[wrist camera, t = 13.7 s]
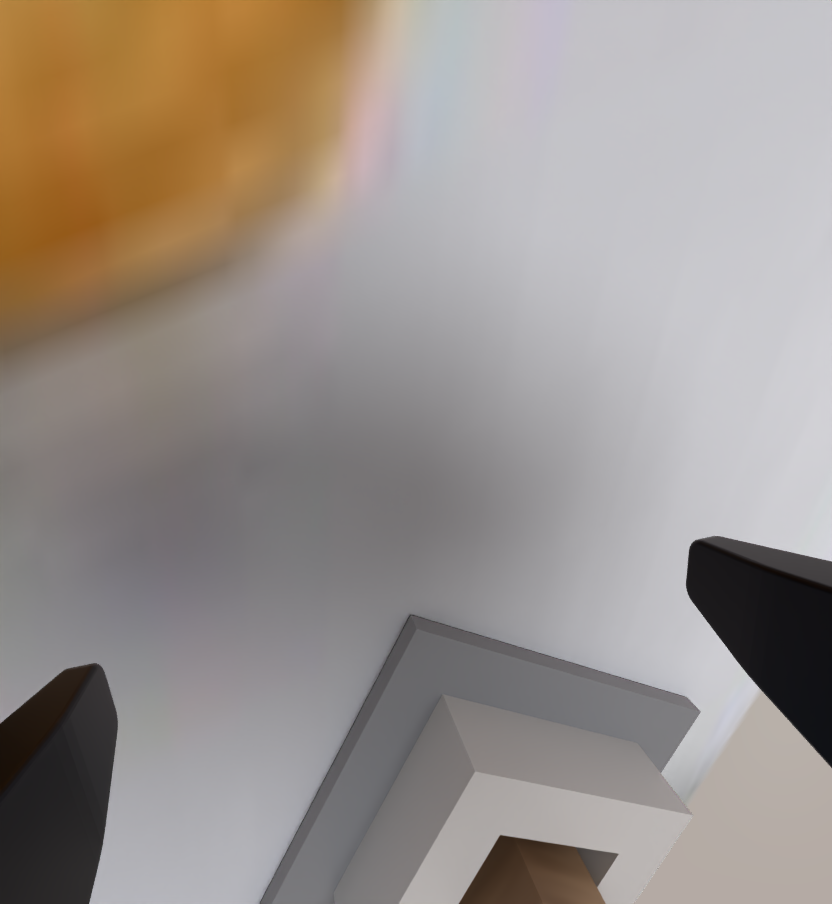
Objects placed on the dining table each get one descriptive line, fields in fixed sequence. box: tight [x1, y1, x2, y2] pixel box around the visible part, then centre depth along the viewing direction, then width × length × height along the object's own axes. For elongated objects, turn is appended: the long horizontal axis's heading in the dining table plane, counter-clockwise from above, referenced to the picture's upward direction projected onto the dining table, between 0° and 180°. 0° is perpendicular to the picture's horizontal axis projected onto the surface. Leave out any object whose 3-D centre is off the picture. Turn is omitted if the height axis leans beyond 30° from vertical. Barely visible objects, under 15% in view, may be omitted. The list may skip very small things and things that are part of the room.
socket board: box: [260, 615, 701, 904], centre depth 26 cm, size 16×16×5 cm
